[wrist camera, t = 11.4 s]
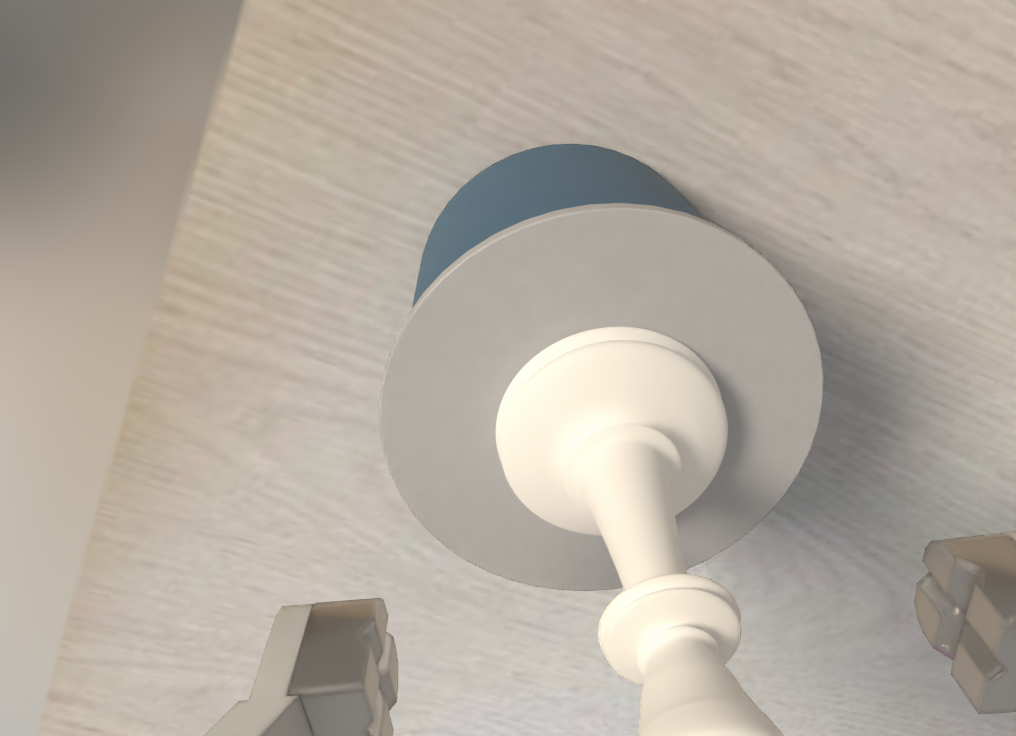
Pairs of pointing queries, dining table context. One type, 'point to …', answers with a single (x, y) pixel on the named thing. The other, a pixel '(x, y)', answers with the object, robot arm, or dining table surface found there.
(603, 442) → the chess piece
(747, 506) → the yogurt tub
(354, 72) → the dining table surface
